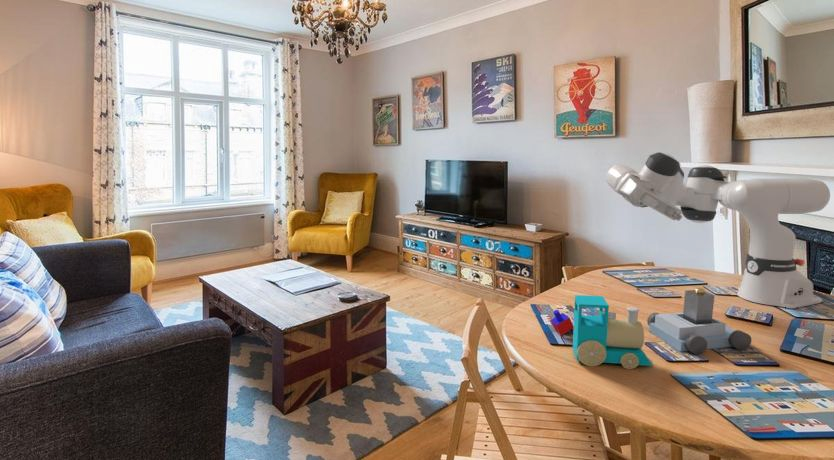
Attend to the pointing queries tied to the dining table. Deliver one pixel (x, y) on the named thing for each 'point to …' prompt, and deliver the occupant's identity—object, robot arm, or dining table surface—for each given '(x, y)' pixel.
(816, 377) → the dining table surface
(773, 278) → the robot arm
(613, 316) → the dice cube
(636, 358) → the toy train
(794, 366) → the dining table surface
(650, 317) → the chassis
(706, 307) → the engine block
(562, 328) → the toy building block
